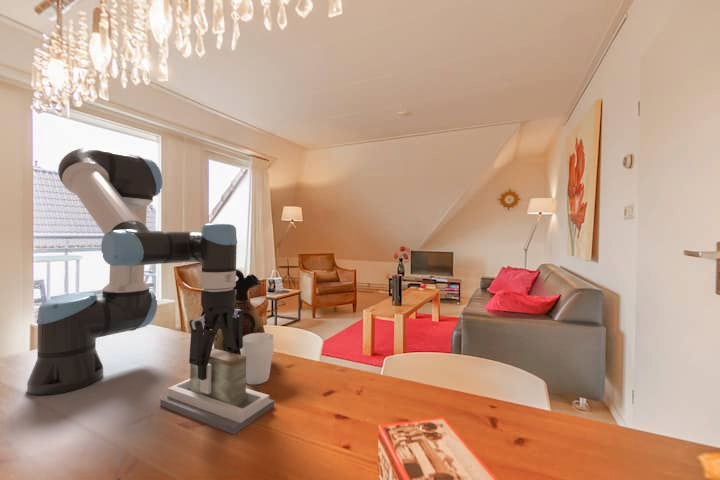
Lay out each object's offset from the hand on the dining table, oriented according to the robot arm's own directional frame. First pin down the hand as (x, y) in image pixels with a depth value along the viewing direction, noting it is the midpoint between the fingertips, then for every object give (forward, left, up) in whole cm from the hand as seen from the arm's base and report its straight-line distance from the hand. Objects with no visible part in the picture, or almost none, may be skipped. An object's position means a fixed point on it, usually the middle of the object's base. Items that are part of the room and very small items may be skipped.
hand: (217, 385), depth 75 cm
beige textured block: (0, 0, -3) cm, 3 cm away
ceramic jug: (-16, +21, -5) cm, 27 cm away
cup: (-2, +15, -5) cm, 16 cm away
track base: (0, 0, -5) cm, 5 cm away
